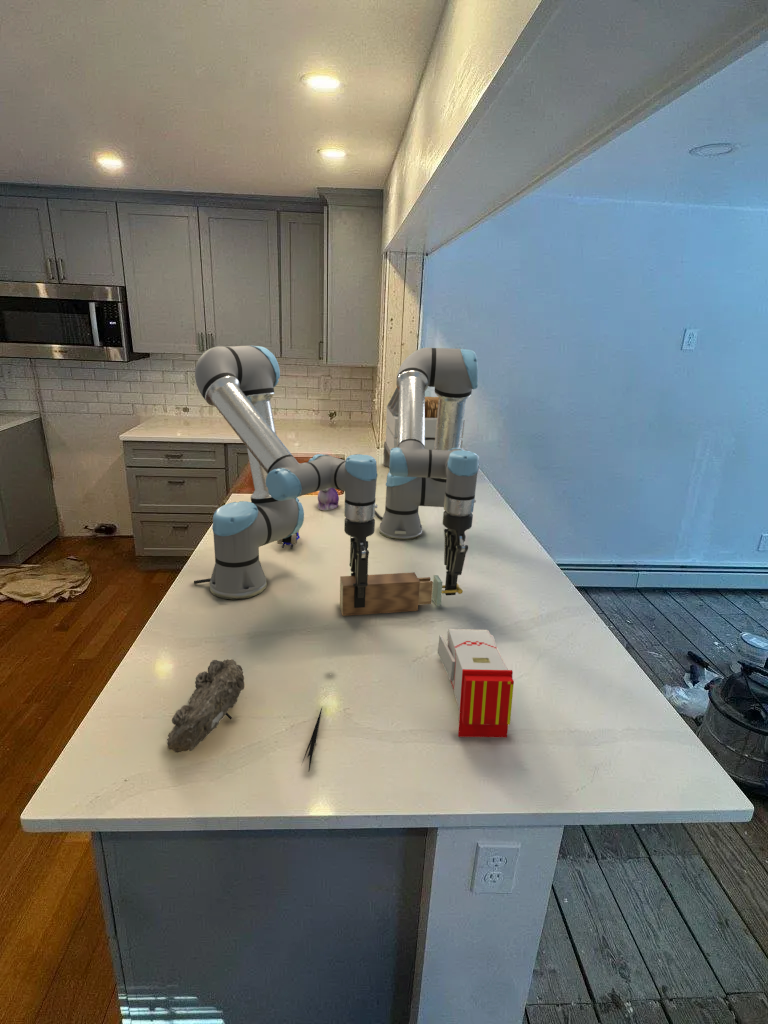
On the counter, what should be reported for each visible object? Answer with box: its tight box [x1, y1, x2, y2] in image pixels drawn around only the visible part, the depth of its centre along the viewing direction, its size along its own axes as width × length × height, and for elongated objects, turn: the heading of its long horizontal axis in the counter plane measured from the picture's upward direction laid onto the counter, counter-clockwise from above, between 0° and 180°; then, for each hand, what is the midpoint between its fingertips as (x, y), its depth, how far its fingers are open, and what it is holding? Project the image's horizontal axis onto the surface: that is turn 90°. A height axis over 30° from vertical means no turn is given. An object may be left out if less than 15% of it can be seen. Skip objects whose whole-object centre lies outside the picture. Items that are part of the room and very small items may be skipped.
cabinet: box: [339, 571, 420, 617], centre depth 148 cm, size 20×5×9 cm, turn 102°
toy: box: [437, 628, 515, 738], centre depth 117 cm, size 12×13×30 cm
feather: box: [301, 673, 332, 771], centre depth 108 cm, size 2×28×2 cm
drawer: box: [418, 574, 464, 607], centre depth 150 cm, size 25×4×7 cm, turn 102°
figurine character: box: [276, 530, 301, 550], centre depth 187 cm, size 7×8×15 cm
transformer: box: [383, 387, 465, 468], centre depth 268 cm, size 34×33×41 cm
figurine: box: [317, 488, 340, 511], centre depth 220 cm, size 9×10×15 cm
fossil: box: [166, 658, 245, 754], centre depth 106 cm, size 22×10×15 cm
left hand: (357, 600), depth 148 cm, fingers closed on cabinet, 5 cm apart
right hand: (450, 593), depth 153 cm, fingers closed
